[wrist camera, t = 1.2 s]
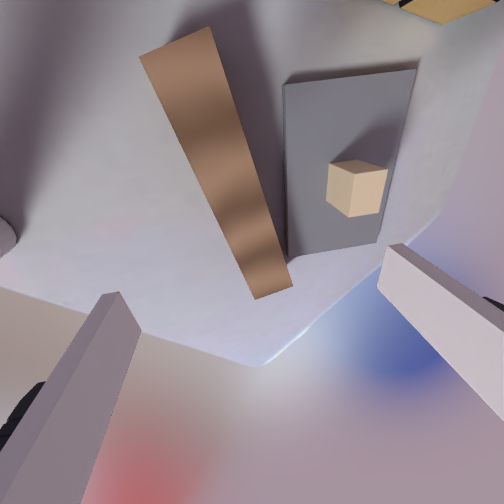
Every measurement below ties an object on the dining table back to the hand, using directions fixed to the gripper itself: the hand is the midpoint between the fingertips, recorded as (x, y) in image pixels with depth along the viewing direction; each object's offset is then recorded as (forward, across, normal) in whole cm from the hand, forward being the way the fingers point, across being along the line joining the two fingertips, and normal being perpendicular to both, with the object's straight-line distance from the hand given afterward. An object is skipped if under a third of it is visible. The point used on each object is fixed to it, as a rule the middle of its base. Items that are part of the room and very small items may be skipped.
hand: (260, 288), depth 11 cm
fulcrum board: (+16, +12, 0) cm, 19 cm away
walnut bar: (+16, 0, 0) cm, 16 cm away
